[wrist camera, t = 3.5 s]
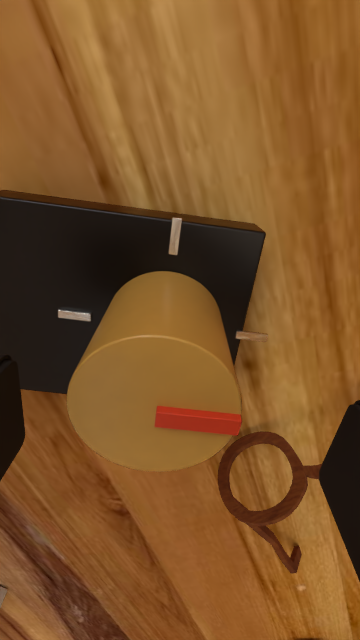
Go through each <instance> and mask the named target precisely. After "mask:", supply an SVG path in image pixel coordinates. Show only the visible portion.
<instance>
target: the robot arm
mask: <svg viewBox="0 0 360 640" xmlns="http://www.w3.org/2000/svg"><path fill="white" fill-rule="evenodd" d="M24 438H25V427H24V418H23V409H22V400H21V390H20V381H19V372H18V365H17V362H16V361H12V358H11V356H10V355H6V354H0V481H1V479H2V477H3V476H4V474H5V473H6V471H7V469H8V468H9V466H10V464H11V463H12V461H13V460H14V458H15V456H16V455H17V453H18V452H19V450H20V448H21V446H22V445H23V442H24ZM319 481H320V484H321V487H322V489H323V492H324V494H325V497H326V499H327V502H328V504H329V507H330V509H331V512H332V514H333V517H334V519H335V522H336V524H337V526H338V529H339V531H340V534H341V536H342V539H343V541H344V544H345V546H346V549H347V551H348V554H349V556H350V559H351V561H352V564H353V566H354V569H355V571H356V574H357V576H358V579H359V581H360V400H358V401H356V402H355V403H354V404H352V405H350V406H349V407H348V409H347V411H346V413H345V415H344V417H343V419H342V422H341V424H340V426H339V428H338V430H337V433H336V435H335V437H334V439H333V441H332V444H331V446H330V448H329V450H328V452H327V455H326V457H325V459H324V461H323V463H322V465H321V468H320V470H319Z"/></svg>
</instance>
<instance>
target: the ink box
mask: <svg viewBox="0 0 360 640" xmlns="http://www.w3.org/2000/svg"><path fill="white" fill-rule="evenodd" d="M6 593H7V589H5V588H3V587H1V586H0V607H1V605H2V602H3V600H4V598H5V595H6Z"/></svg>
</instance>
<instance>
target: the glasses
mask: <svg viewBox="0 0 360 640" xmlns="http://www.w3.org/2000/svg"><path fill="white" fill-rule="evenodd" d="M256 444H271V445H275V446H276V447H278V448H280V449H281V450H282V451H283V452H284V454H285V455H286V457H287V458H288V461H289V463H290V465H291V468H292V474H293V480H292V485H291V487H290V490H289V492H288V494H287V495H286V497H285V498H284V499H283V500H282V501H281V502H280V503H278V504H277V505H276V506H274V507H272V508H270V509H267V510H263V511H250V510H248V509H246V508H245V507H244V506H243V505H242V504H241V503H240V502H239V501H238V500H236V499H235V498H234V497H233V495H232V492H231V489H230V482H229V474H230V468H231V465H232V463H233V461H234V460H235V458H236V457H237V456H238V455H239V454H240V453H241V452H242V451H243V450H245V449H246V448H248V447H250V446H253V445H256ZM321 465H322V464H320V465H313V466H303V465H302V463H301V461H300V459H299V458H298V456H297V455H296V453H295V452H294V450H293V449H292V447H291V446H290V445H289V444H288V442H287V441H286V440H285V439H284V438H283V437H281V436H279V435H277V434H275V433H271V432H256V433H252V434H249V435H246V436H244V437H242V438H240V439H238V440H237V441H236V442H234V443H233V444H232V445H231V446H230V447H229V448H228V449H227V450H226V452H225V453H224V455H223V457H222V459H221V462H220V465H219V470H218V485H219V491H220V494H221V498H222V500H223V502H224V504H225V506H226V507H227V509H228V510H229V512H230V513H231V514H233V515H234V516H235V517H236V518H237V519H238V520H240V521H242V522H244V523H246V524H247V525H248V526H249V527H251V528H252V529H253V530H254V531H255V532H257V533H258V534H259V535H260V536H261V537H263V538H264V539H265V540H266V541H268V542H269V543H270V544H271V545H272V547H273V548H274V550H275V552H276V553H277V555H278V556H279V558H280V560H281V561H282V563H283V564H284V565H285V567H286V568H287V569H288V570H289V571H290V573H297V569H298V566H299V562H300V559H301V555H302V554H301V551H300V547H299V546H294V548H293V551H292V554H291V557H289V556H288V555H287V553H286V552H285V551H284V549H283V547H282V546H281V544H280V543H279V541H278V539H277V538H276V536H275V535H274V533H273V532H272V531H271V530H270V529H269V528H268V527H267V526H266V525H270V524H275V523H277V522H279V521H281V520H283V519H285V518H286V517H287V516H289V515H290V514H292V512H293V511H294V510H295V509H296V508H297V507H298V505H299V504H300V502H301V500H302V498H303V496H304V494H305V492H306V490H307V486H308V482H307V477H309V478H314V479H319V470H320V468H321Z"/></svg>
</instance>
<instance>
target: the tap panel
mask: <svg viewBox="0 0 360 640" xmlns="http://www.w3.org/2000/svg"><path fill="white" fill-rule="evenodd" d="M265 236H266V233H265V232H264V231H263V230H262V229H260V228H259V227H258V226H257V225H255V224H251V223H244V222H236V221H229V220H222V219H214V218H207V217H199V216H192V215H185V214H177V213H170V212H163V211H155V210H148V209H141V208H133V207H126V206H118V205H111V204H104V203H96V202H89V201H82V200H74V199H67V198H59V197H52V196H45V195H37V194H30V193H23V192H15V191H8V190H1V191H0V354H6V355H10V356H11V358H12V361H16V362H17V365H18V372H19V381H20V389H24V390H34V391H43V392H53V393H62V394H67V391H68V386H69V383H70V380H71V378H72V375H73V373H74V371H75V369H76V368H77V366H78V364H79V362H80V360H81V358H82V356H83V354H84V352H85V350H86V349H87V347H88V345H89V343H90V341H91V339H92V337H93V335H94V333H95V332H96V330H97V328H98V326H99V324H100V322H101V320H102V318H103V316H104V314H105V313H106V311H107V309H108V307H109V305H110V303H111V301H112V299H113V298H114V296H115V294H116V293H117V292H118V291H119V290H120V288H121V287H122V286H124V285H125V284H126V283H127V282H129V281H130V280H132V279H133V278H136V277H138V276H140V275H143V274H146V273H150V272H156V271H169V272H176V273H180V274H183V275H186V276H188V277H190V278H192V279H194V280H196V281H197V282H199V283H200V284H202V285H203V286H204V287H205V288H206V289H207V290H208V291H209V292H210V293H211V295H212V296H213V298H214V299H215V301H216V303H217V305H218V308H219V311H220V314H221V318H222V322H223V326H224V330H225V334H226V338H227V342H228V346H229V350H230V354H231V358H232V362H233V366H234V364H235V359H236V355H237V351H238V347H239V343H240V339H244V340H253V341H261V342H266V341H267V337H268V334H265V333H257V332H249V331H243V326H244V322H245V318H246V314H247V310H248V306H249V302H250V297H251V293H252V289H253V285H254V281H255V277H256V273H257V269H258V264H259V260H260V256H261V252H262V248H263V244H264V240H265Z"/></svg>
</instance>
